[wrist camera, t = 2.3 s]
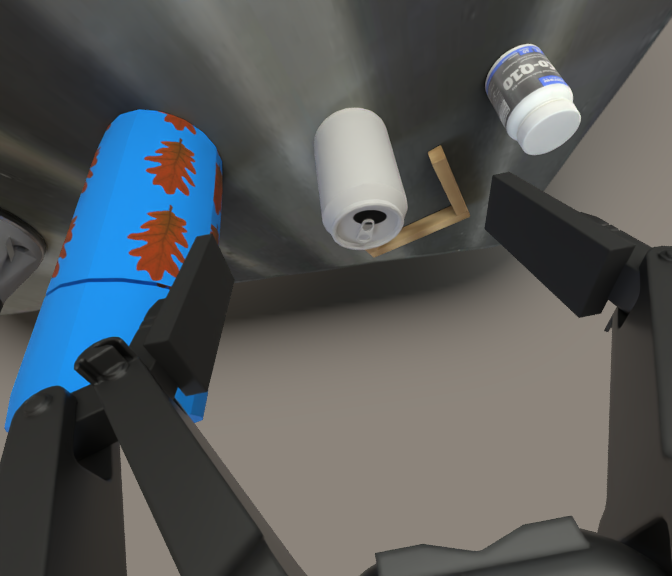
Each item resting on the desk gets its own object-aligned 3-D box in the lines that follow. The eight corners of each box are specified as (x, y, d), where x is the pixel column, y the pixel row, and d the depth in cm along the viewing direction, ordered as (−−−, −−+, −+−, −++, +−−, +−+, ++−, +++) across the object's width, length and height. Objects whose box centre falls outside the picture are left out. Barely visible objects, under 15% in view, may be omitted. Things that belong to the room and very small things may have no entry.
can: (396, 106, 29) (427, 202, 24) (373, 169, 36) (393, 256, 30) (318, 96, 28) (332, 197, 22) (308, 164, 34) (318, 255, 29)
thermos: (113, 81, 25) (-11, 416, 13) (241, 146, 31) (230, 410, 20) (97, 171, 32) (7, 439, 21) (203, 209, 38) (179, 429, 27)
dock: (371, 247, 50) (373, 257, 49) (328, 206, 40) (329, 218, 40) (466, 205, 43) (470, 216, 43) (440, 144, 34) (445, 157, 33)
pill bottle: (544, 29, 25) (596, 91, 21) (537, 83, 29) (580, 144, 25) (482, 60, 27) (520, 123, 23) (484, 107, 30) (516, 168, 27)
